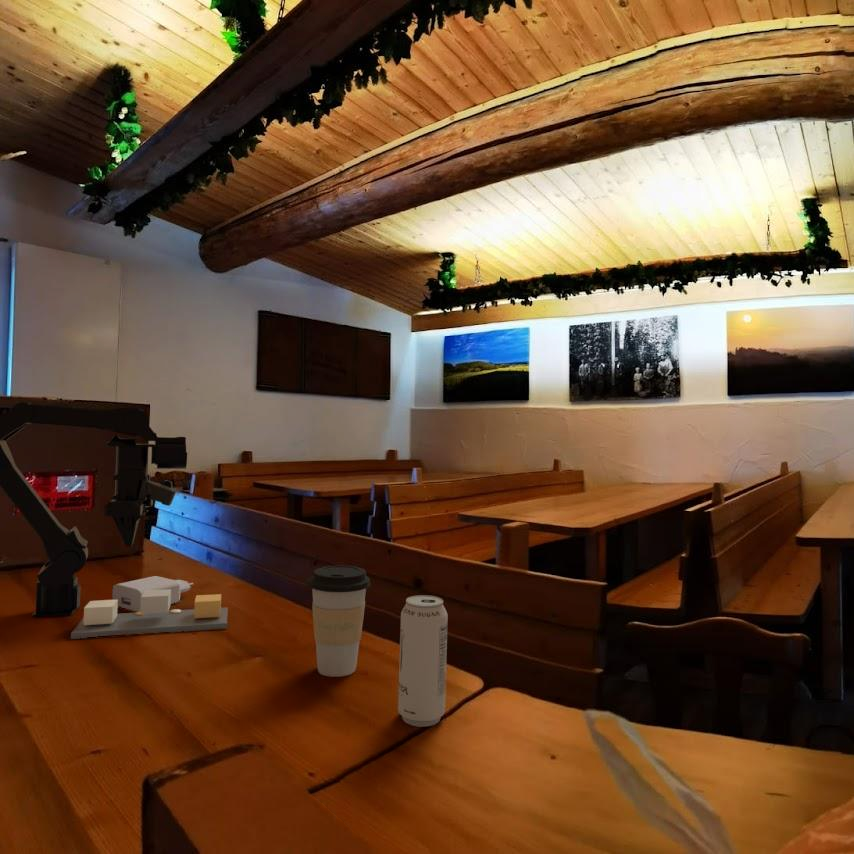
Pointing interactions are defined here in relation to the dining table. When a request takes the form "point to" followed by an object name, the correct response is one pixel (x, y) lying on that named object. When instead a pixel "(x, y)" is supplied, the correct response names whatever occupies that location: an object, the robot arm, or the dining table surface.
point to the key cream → (100, 612)
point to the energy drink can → (422, 660)
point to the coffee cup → (338, 617)
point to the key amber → (207, 606)
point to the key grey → (155, 601)
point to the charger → (133, 590)
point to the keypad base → (152, 623)
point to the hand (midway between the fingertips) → (129, 546)
